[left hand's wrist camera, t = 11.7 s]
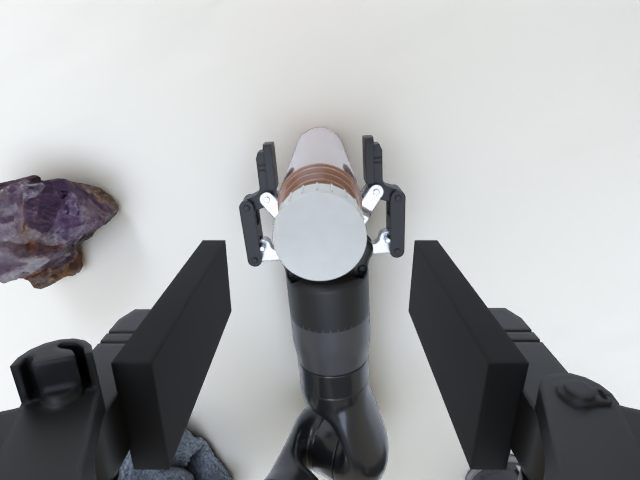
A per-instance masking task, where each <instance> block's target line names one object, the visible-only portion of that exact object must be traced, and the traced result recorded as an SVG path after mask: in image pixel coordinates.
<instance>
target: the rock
mask: <svg viewBox="0 0 640 480" xmlns="http://www.w3.org/2000/svg"><path fill="white" fill-rule="evenodd" d="M117 211H118V208H117V205H116V204H115V202H114V201H113V199H112V197H111V196H110V195H109V194H107V193H106V192H104V191H103V190H102V189H100V188H98V187H92V186H90V185H86V184H82V183H75V182H71V181H69V180H66V179H52V180H46V181H41V178H40V177H39V176H36V175H32V176H29V177H25V178H21V179H17V180H13V181H8V182H3V183H0V282H1V283H7V282H9V281H12V280H17V279H18V278H24V279H25V280H28V281H29V282H30V283H31V284H32V286H33V287H34V288H38V289H42V288H45V287H47V286H50V285H52V284H53V283H55V282H57V281H58V280H60V279H62V278H64V277H66V276H74V275H76V273H79V272H80V270H81V268H82V267H83V263H82V253H81V252H80V250H79V248H78V246H79V245H80V244H81V243H82V242H83V241H84V240H87V239H89V238H90V237H92V236H93V234H94V232H95V231H96V229H98V228H100V227H101V226H102V225H104V224H106V223H107V222H109V221H110V220H111V218H112V217H114V216H115V215H116V214H117Z"/></svg>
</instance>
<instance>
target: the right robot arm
mask: <svg viewBox="0 0 640 480" xmlns="http://www.w3.org/2000/svg"><path fill="white" fill-rule="evenodd" d="M362 142H363V171H364V180H365V182H366V184H365V186H364V187H363V189H362V191H361V196H362V212H363V215H364V218H365V220H364V222H365V224H366V222H367V221H368V219H369V217H370V215H371V212H372V210H373V209H374V207H375V206H376V204H377V203H378V201H379V200H380V199H381V200H384V201H386V228H383V229H381V230H380V232H379V235H378V237H377V239H375V240H373V241H371V239H370V238H369V237H368V236H367V243H366V248H365V251H364V253H363V255H362V257H361V259H360V261H359V262H358V263H357V264H356V266H355V267H354V268H353V269H351V270H350V271H349V272H347V273H346V274H344V275H342V276H341V277H338V278H335V279H332V280H326V281H313V280H308V279H304V278H302V277H299V276H297V275H295V274H294V273H292V272H291V271H289V270H288V269H287V268H286V267H285V266H284V265H283V266H284V268H285V270H286V278H287V287H288V296H289V305H290V314H291V323H292V332H293V339H294V344H295V348H296V351H297V355H298V364H299V373H300V382H301V389H302V394H303V398H304V400H305V402H306V404H307V405H308V407H307V408H305V409H304V410H303V411H302V412H301V414H300V415H299V416H298V418H297V420H296V422H295V424H294V426H293V428H292V430H291V433H290V435H289V437H288V439H287V441H286V443H285V445H284V447H283V449H282V451H281V453H280V455H279V457H278V459H277V461H276V462H275V464H274V466H273V468H272V470H271V471H270V473H269V475H268V476H267V477H266V478H265V479H264V480H318V478H317V477H316V476H315V475H314V474H313V473H312V472H311V471H315V472H317V473H319V474H321V475H322V476H324V477H326V478H328V479H330V480H380V479H381V478H382V476H383V474H384V471H385V469H386V465H387V461H388V439H387V433H386V429H385V426H384V422H383V420H382V417H381V414H380V411H379V409H378V406H377V403H376V400H375V397H374V394H373V392H372V390H371V387H370V384H369V361H368V348H369V340H370V313H369V283H368V263H369V260H370V258H371V256H372V254H379V253H391V255H392V256H393V257H396V258H398V257H401V256H402V255H403V253H404V234H405V195H404V193H403V192H402V191H401V189H400V188H399V187H398V186H397V185H391V184H387V183H385V182H383V179H382V149H381V147H380V144H379V143H378V142H374V140H373V137H372V136H371V135H365V136H363V137H362ZM256 162H257V170H258V178H259V186H260V190H259V191H258V192H255V193H253V194H248V195H247V196H246V197H245V198H244V200H243V201H242V203H241V204H240V206H239V210H240V216H241V222H242V228H243V234H244V240H245V246H246V252H247V258H248V262H249V264H250V265H252V266H259V265H260V264H261V262H262V261H272V260H279V258H278V256H277V254H276V252H275V249H274V245H273V244H272V243H271V240H270V238H268V237H266V236H263V233H262V226H261V219H260V213H259V209H261V208H263V207H265V209H266V210H267V211H268V212H269V213H270V214H271V215H272V216H273V218H274V219H275V217H276V215H278V207H277V201H278V195H279V192H278V191H277V190H276V189H277V186H278V175H277V165H276V156H275V147H274V142H265V143H264V144H263V150H260V151H259V152H258V154H257V158H256ZM519 471H520V465H519V463H518V461H517V459H516V457H515V456H512V455H509V459H508V464H507V468H506V470H470V472H469V473H468V475H467V477H466V480H518V476H519Z"/></svg>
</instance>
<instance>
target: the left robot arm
mask: <svg viewBox="0 0 640 480" xmlns="http://www.w3.org/2000/svg"><path fill="white" fill-rule="evenodd" d="M230 313H231V301H230V290H229V278H228V267H227V255H226V244H225V240H203V241H202V242H201V244H200V245H199V246H198V248H197V249H196V250H195V252H194V253H193V254H192V256H191V257H190V258H189V260H188V261H187V262H186V264H185V265H184V266H183V268H182V269H181V270H180V272H179V273H178V274H177V276H176V277H175V278H174V280H173V281H172V282H171V284H170V285H169V286H168V288H167V289H166V290H165V292H164V293H163V294H162V296H161V297H160V298H159V300H158V301H157V302H156V304H155V305H154V306H153V308H152V309H135V310H134V311H132V312H130V313H129V314H127V315H125V316H124V317H122V318H121V319H119V320H118V321H117V322H116V324H115V325H114V326H113V327H112V328H111V330H110V331H109V334H106V335H105V337H104V338H103V339H102V340H101V343H100V344H98V345H97V346H96V347H95V348H94V349H93V351H92V346H91V345H90V344H89V343H88V342H86V341H85V340H79V339H61V340H57V341H53V342H49V343H45V344H43V345H40V346H38V347H35V348H33V349H31V350H29V351H27V352H26V353H24V354H23V355H21V356H20V357H18V358H17V359H16V360H15V362H14V363H13V364H12V365H11V366H10V368H11V372H12V375H13V378H14V381H15V384H16V387H17V390H18V393H19V396H20V400H21V403H22V404H21V406H20V407H19V408H16V409H12V410H7V411H2V412H0V480H122V476H121V471H120V467H121V465H122V463H123V461H124V459H125V457H126V456H127V454H128V452H129V450H130V455H131V459H132V464H133V468H134V470H169V469H170V467H171V464H172V462H173V459H174V456H175V454H176V451H177V449H178V446H179V444H180V441H181V439H182V436H183V433H184V431H185V428H186V426H187V423H188V421H189V418H190V416H191V413H192V410H193V408H194V405H195V403H196V400H197V398H198V395H199V392H200V390H201V387H202V385H203V382H204V380H205V377H206V375H207V372H208V369H209V367H210V364H211V362H212V359H213V357H214V354H215V352H216V349H217V346H218V344H219V341H220V339H221V336H222V334H223V331H224V328H225V326H226V323H227V321H228V318H229V316H230ZM409 313H410V316H411V318H412V321H413V323H414V326H415V328H416V331H417V334H418V336H419V339H420V341H421V344H422V346H423V349H424V352H425V354H426V357H427V359H428V362H429V364H430V367H431V369H432V372H433V375H434V377H435V380H436V382H437V385H438V387H439V390H440V392H441V395H442V398H443V400H444V403H445V405H446V408H447V410H448V413H449V416H450V418H451V421H452V423H453V426H454V428H455V431H456V433H457V436H458V439H459V441H460V444H461V446H462V449H463V451H464V454H465V456H466V459H467V462H468V464H469V467H470V469H471V470H506V468H507V464H508V459H509V455H510V450H512V451H513V453H514V455H515V457H516V459H517V461H518V463H519V465H520V471H519V476H518V480H640V410H637V409H632V408H628V407H624V406H620V405H619V403H618V402H617V400H616V399H615V398H614V396H613V395H612V394H611V393H610V392H609V391H608V390H606V389H605V388H604V387H602V386H601V385H600V384H598V383H596V382H594V381H592V380H589V379H587V378H585V377H582V376H578V375H575V374H571V373H568V372H567V371H566V370H565V368H564V367H563V366H562V365H561V364H560V363H559V362H558V360H557V359H556V358H555V357H554V356H553V355H552V353H551V352H550V351H549V350H548V349H547V348H546V346H545V345H544V344H543V343H542V342H540V339H539V338H538V337H537V336H536V335H535V334H534V332H531V329H530V328H529V327H528V325H527V324H526V323H525V322H524V321H523V320H522V318H520V317H519V316H517V315H515V314H514V313H512V312H511V311H509V310H507V309H506V308H487V306H486V305H485V304H484V302H483V301H482V300H481V298H480V297H479V296H478V294H477V293H476V292H475V290H474V289H473V288H472V286H471V285H470V284H469V282H468V281H467V280H466V278H465V277H464V276H463V274H462V273H461V272H460V270H459V269H458V268H457V266H456V265H455V264H454V262H453V261H452V260H451V258H450V257H449V256H448V254H447V253H446V252H445V250H444V249H443V248H442V246H441V245H440V244H439V242H438V241H437V240H415V244H414V255H413V267H412V278H411V290H410V301H409Z"/></svg>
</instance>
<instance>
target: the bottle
mask: <svg viewBox="0 0 640 480" xmlns="http://www.w3.org/2000/svg"><path fill="white" fill-rule="evenodd" d="M316 182H318V183H323V184H332V185H334V186H336V187H339V188H341V189H342V190H344V189H345V190H346V192H347V193H348V194H349V195H350V196H352V197H353V199H354V198H355V199H356V202H357V204H358V206H359V208H360V210H362V196H361V192H360V189H359V187H358V184H357V181H356V179H355V176H354V173H353V171H352V168H351V165H350V163H349V160H348V157H347V155H346V152H345V149H344V147H343V144H342V142H341V140H340V138H339V137H338V135H337V134H336V133H334V132H333V131H331V130H329V129H327V128H322V127H318V128H313V129H310V130H308V131H307V132H305V133H304V134H303V135H302V136H301V138H300V139H299V141H298V144H297V146H296V149H295V152H294V154H293V157H292V160H291V162H290V165H289V168H288V170H287V173H286V176H285V178H284V181H283V183H282V186H281V189H280V192H279V195H278V201H277V207H278V211H279V208H280V205H281V203H283V202H284V201H285V199H286V198H287V197H288V196H289V195H290V193H291V192H292V193H293V192H294V191H295V190H297V189H299V188H301V187H302V185H304V186H306V185H310V184H316Z"/></svg>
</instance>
